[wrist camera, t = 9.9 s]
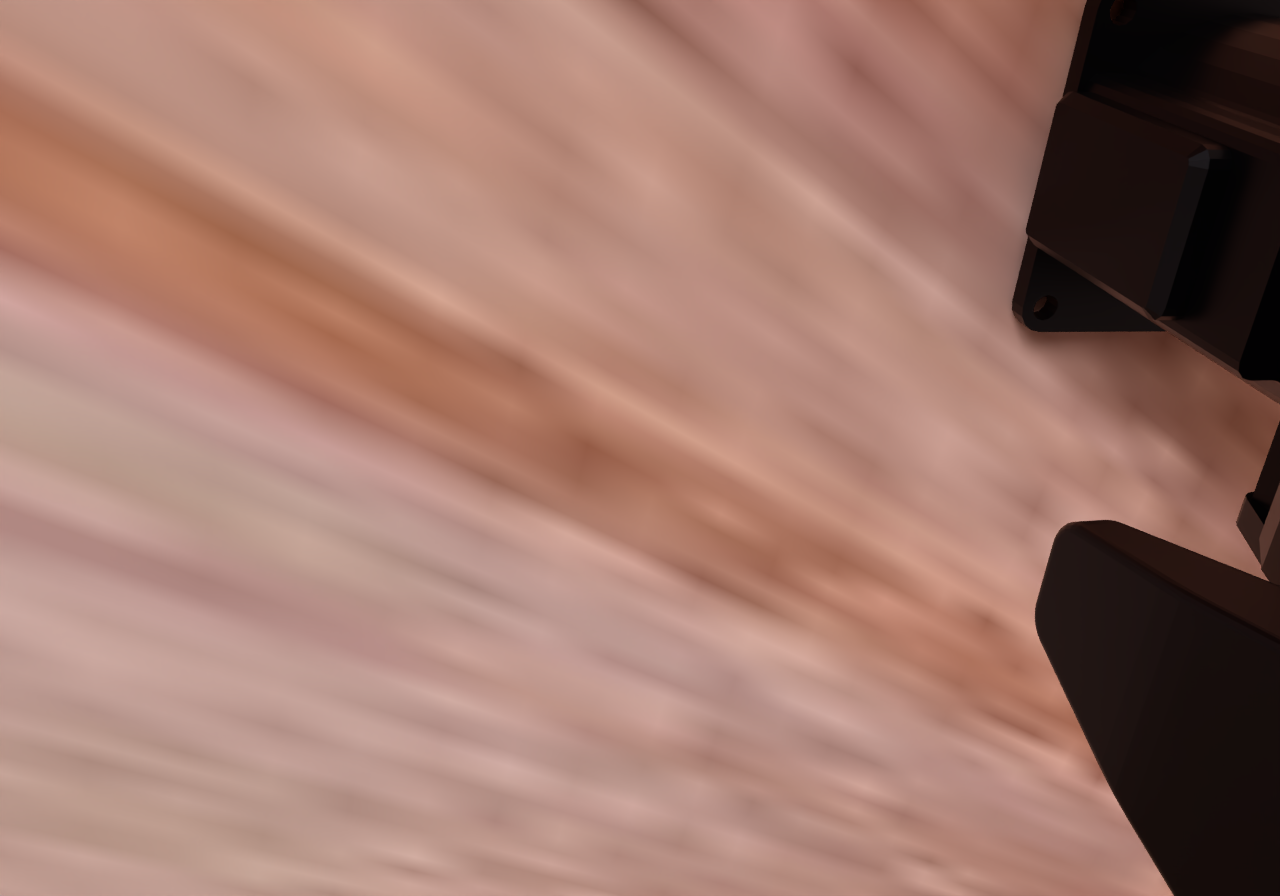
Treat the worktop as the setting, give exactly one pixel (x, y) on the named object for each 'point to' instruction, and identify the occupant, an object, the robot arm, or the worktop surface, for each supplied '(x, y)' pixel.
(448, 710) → the worktop surface
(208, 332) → the worktop surface
